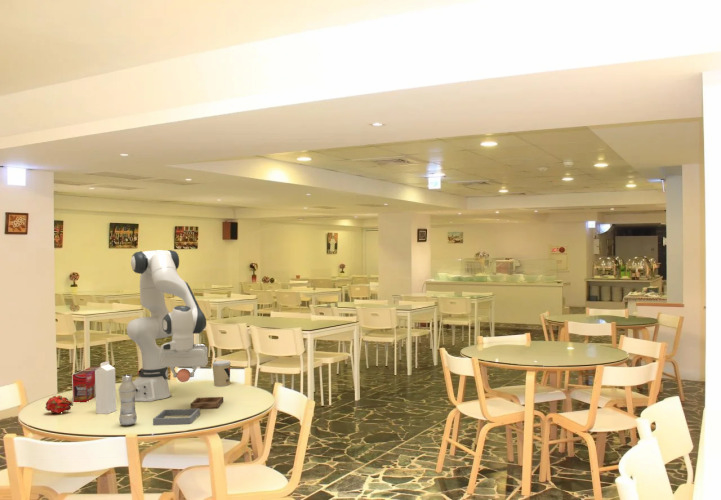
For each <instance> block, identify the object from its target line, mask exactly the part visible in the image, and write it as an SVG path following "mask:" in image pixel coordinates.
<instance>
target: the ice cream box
mask: <svg viewBox="0 0 721 500" xmlns="http://www.w3.org/2000/svg"><path fill="white" fill-rule="evenodd" d="M99 367H100V366H89V367H87V368H84V369H82V370H80V371H78V372H77V371H76V372H75V373H73V374H71V385H72V403H73V402H80V403H88V402H90V401H91V400H93V399H96V390H95V370H96V369H98V368H99ZM89 400H90V401H89ZM87 401H88V402H87Z"/></svg>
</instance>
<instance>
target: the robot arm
mask: <svg viewBox="0 0 721 500" xmlns="http://www.w3.org/2000/svg"><path fill="white" fill-rule="evenodd" d="M130 266H131V268H132V271H133V272H134V273H135V274H140V275H139V303H140V305H141V306H142V307H143V308H145V309H147V310H148V311H149V312H150V315H151V316H145V317H144V316H143V317H138V318H135V319H132V320H130V321H129V322H128V323H127V326H126V333H127V334H126V335H127V336H128V338H129V339H131V340H132V341H133V342H134V343H135V344H136V345H137V346H138V348H139V350H140V353H141V361H142V364H141V365H142V367H141V368H140V369H138V371H137V374H138V377H137V378H135V379H134V380H133V381H132V382H133V383H134V384H135V386H136V393H135V402H153V401H157V400H162V399H167V398H169V397H171V396H172V395H171V391H170V387H169V382H168V381H169V380H168V378H169V370H168V368H170V371H171V373H172V377H173V378H177V373H178V372H176V368H186V367H191V370H192V372H191V371H190V378H194V377H195V373H196V370H197V368H198V367H206V366H207V365H208V364H209V359H208V358H209V357H208V354H209V353H208V352H209V350H208V346H207V345H205V344H203V343H201V344H198V343H197V344H196V343H195V340H194V339H195V336H194V334H197V335H198V334H201V333H202V332H203V331H204V330H205V329H206V327H207V319H206V315H205V314H204V311H203V310H202V309H201V308H200V305H199V303H198V302H197V301H198V300H197V298H196V297H195V295H194V292H193V290H192V289H191V287H190V285H189V284H188V281H185V280H184V279H182V277H181V276H180V275H179V274H178V271H177V270H178V269H179V266H180V257H179V254H178V252H177V251H175V250H171V249H168V250H165V249H154V250H145V251H142V250H141V251H136V252H134V253H133V254H132V255H131V259H130ZM165 294H169V295H172V296H174V297H178V298H180V299H181V300H183V303H184V305H176V306H174V307H173V308H172V311H171V312H170V310H169V308H168V306H167V304H166V299H165ZM168 337H171V340H170V341H168V342H166V343H163V344H161V345H160V346H159V345H158V344H157V341H156V340H157V339H164V338H168Z"/></svg>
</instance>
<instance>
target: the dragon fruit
mask: <svg viewBox="0 0 721 500" xmlns="http://www.w3.org/2000/svg"><path fill="white" fill-rule="evenodd" d="M71 407H74V403H73V401H71V400H69V399H68V397H63V396H62V395H53V396H52V397H49V399H47V401H46V402H45V408H44V409H45V410H46V411H48V412H51V414H52V413H54V414H60V413H61V412H63V413H64V412H67V411H70V410H71V409H72V408H71Z"/></svg>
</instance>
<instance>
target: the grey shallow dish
mask: <svg viewBox="0 0 721 500" xmlns="http://www.w3.org/2000/svg"><path fill="white" fill-rule="evenodd" d="M200 410H201V409H190V408H177V409H176V408H175V409H174V408H173V409H171V408H170V409H163V410H162V411H161V412H160V413H158V414H157V415H156V416H154V417H153V418H152V425H153V426H167V425H168V426H169V425H191V424H192V423H193V422H194V421H195V420H196V419H197V418H198V417H199V416H200V415H201V413H200V412H201V411H200ZM170 416H171V417H170ZM173 416H176V417H173ZM178 416H180V417H178ZM181 416H182V417H181ZM185 416H188V417H185Z"/></svg>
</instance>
